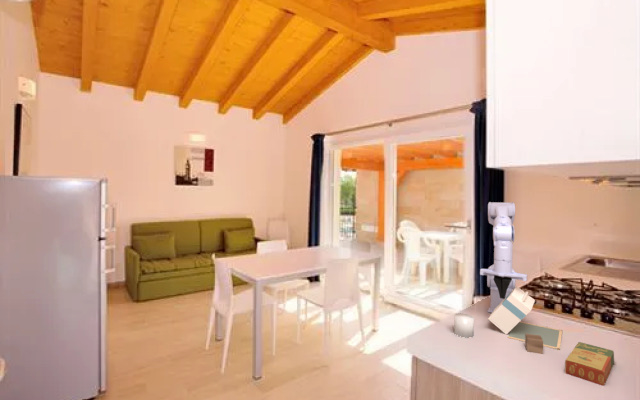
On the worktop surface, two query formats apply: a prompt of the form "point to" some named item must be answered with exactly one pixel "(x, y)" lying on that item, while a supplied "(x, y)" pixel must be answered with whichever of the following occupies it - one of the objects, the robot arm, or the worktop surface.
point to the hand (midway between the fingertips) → (502, 297)
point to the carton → (590, 363)
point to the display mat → (547, 334)
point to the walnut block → (534, 343)
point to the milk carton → (512, 310)
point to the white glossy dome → (464, 325)
